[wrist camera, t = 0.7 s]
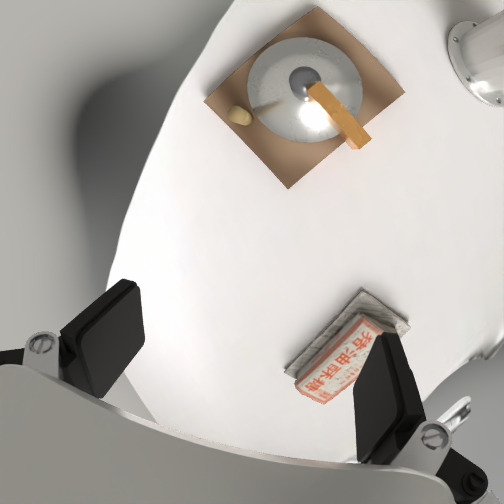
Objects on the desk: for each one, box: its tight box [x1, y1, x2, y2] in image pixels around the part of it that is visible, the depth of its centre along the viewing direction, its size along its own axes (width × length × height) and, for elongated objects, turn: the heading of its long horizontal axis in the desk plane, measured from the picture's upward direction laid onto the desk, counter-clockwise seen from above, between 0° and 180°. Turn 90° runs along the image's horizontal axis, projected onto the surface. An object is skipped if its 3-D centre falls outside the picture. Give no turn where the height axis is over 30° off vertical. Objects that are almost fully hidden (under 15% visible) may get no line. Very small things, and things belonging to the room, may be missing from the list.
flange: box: [247, 37, 371, 149], centre depth 24 cm, size 14×12×5 cm
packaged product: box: [284, 291, 411, 405], centre depth 38 cm, size 18×5×10 cm
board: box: [203, 6, 405, 189], centre depth 26 cm, size 18×14×7 cm
